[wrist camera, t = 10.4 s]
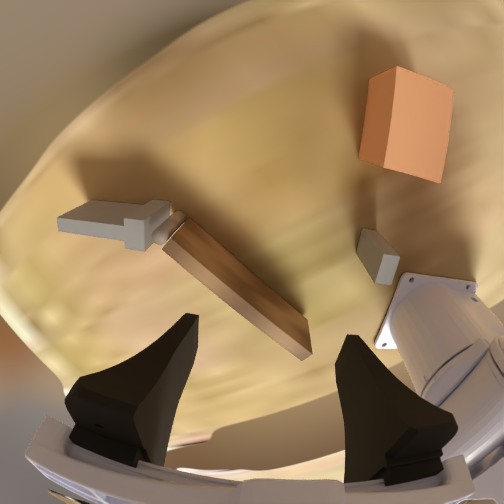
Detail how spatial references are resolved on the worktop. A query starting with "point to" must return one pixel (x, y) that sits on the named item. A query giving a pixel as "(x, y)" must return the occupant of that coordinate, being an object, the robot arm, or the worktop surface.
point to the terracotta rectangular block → (407, 123)
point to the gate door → (234, 283)
